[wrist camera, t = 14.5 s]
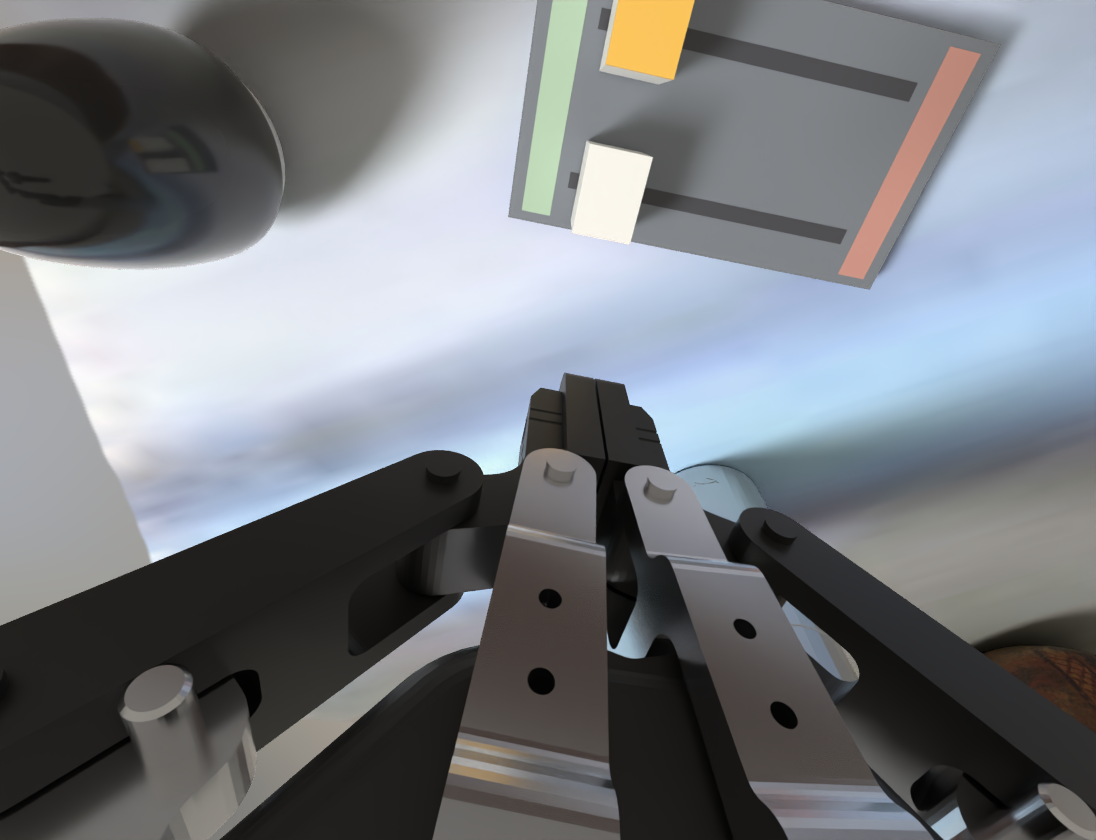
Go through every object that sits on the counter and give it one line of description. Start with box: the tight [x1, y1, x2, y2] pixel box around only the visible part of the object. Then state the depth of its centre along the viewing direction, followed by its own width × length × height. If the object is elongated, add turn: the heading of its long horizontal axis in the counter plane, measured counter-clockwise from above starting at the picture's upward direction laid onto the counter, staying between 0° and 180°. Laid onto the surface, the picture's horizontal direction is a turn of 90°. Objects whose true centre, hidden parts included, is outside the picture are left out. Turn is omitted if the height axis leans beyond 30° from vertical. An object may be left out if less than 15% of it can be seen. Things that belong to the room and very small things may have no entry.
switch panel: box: [508, 0, 1001, 290], centre depth 26 cm, size 22×12×2 cm, turn 79°
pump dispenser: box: [0, 18, 285, 269], centre depth 21 cm, size 10×10×15 cm
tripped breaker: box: [599, 0, 695, 85], centre depth 22 cm, size 3×4×4 cm
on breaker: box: [571, 141, 653, 245], centre depth 25 cm, size 3×4×4 cm
